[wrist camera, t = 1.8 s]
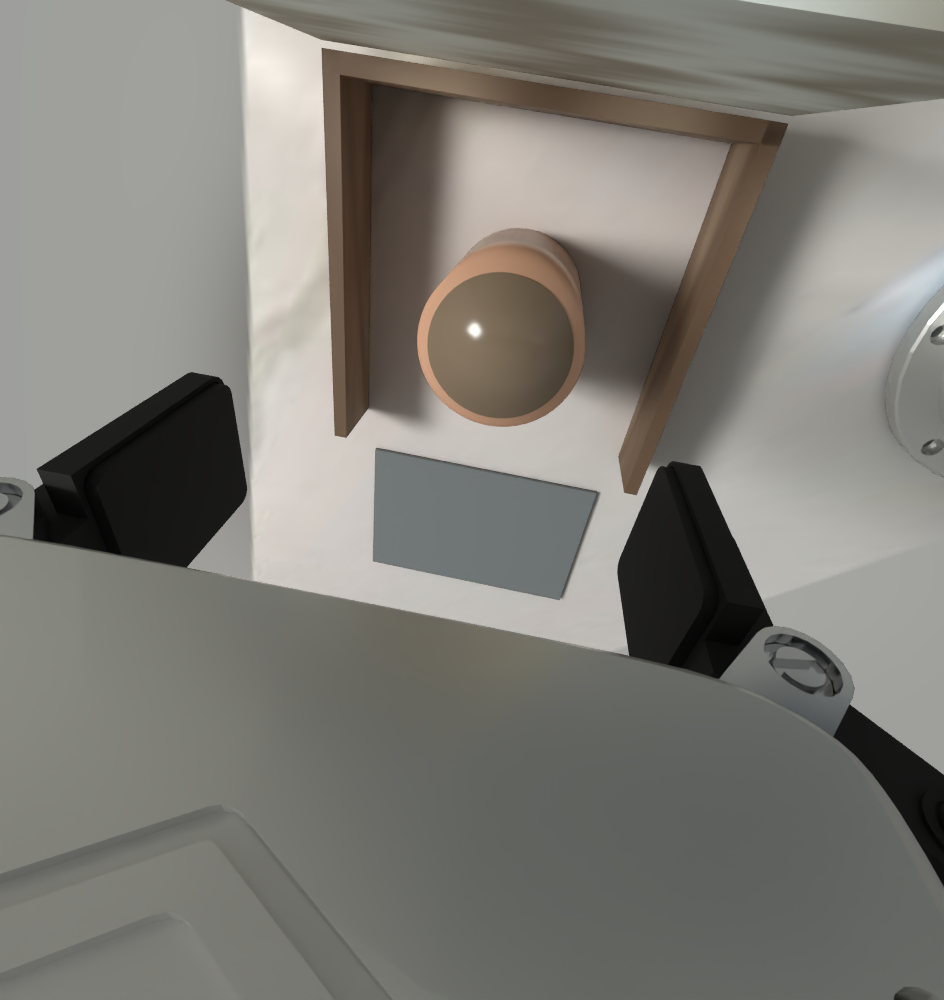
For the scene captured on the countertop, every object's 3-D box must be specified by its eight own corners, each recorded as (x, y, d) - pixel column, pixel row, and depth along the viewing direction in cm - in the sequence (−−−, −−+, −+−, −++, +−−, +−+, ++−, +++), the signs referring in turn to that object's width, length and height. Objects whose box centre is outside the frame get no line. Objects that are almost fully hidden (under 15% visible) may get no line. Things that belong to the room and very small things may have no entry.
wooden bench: (765, 99, 18) (1252, -6, 5) (629, 458, 27) (685, 742, 14) (357, 33, 19) (-98, -201, 6) (358, 405, 28) (179, 631, 15)
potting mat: (596, 491, 29) (596, 493, 29) (559, 597, 34) (559, 600, 34) (376, 447, 29) (375, 449, 29) (373, 559, 35) (373, 561, 35)
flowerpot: (597, 241, 22) (608, 277, 16) (563, 372, 25) (562, 441, 19) (460, 217, 22) (422, 244, 16) (446, 350, 25) (411, 411, 20)
